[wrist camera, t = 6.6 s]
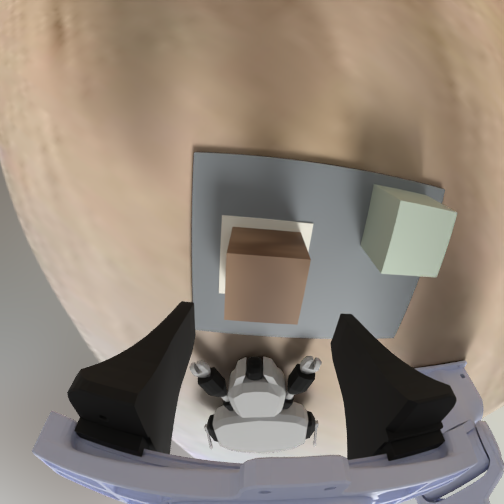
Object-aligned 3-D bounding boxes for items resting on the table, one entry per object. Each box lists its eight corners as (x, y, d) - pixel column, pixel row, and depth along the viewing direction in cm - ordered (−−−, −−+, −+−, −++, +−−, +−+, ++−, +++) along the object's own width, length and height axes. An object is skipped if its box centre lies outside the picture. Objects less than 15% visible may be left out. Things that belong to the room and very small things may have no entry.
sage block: (425, 195, 17) (457, 212, 14) (411, 251, 19) (436, 277, 15) (373, 184, 17) (400, 200, 13) (360, 245, 19) (380, 273, 15)
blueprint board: (442, 188, 17) (445, 190, 17) (392, 335, 23) (394, 338, 23) (195, 151, 17) (193, 152, 16) (194, 326, 23) (193, 330, 22)
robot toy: (188, 340, 25) (214, 427, 30) (177, 373, 21) (210, 456, 26) (321, 334, 24) (312, 424, 30) (331, 368, 20) (316, 452, 26)
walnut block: (300, 232, 19) (310, 259, 15) (291, 289, 21) (297, 324, 17) (232, 226, 18) (226, 253, 15) (229, 285, 20) (224, 319, 17)
